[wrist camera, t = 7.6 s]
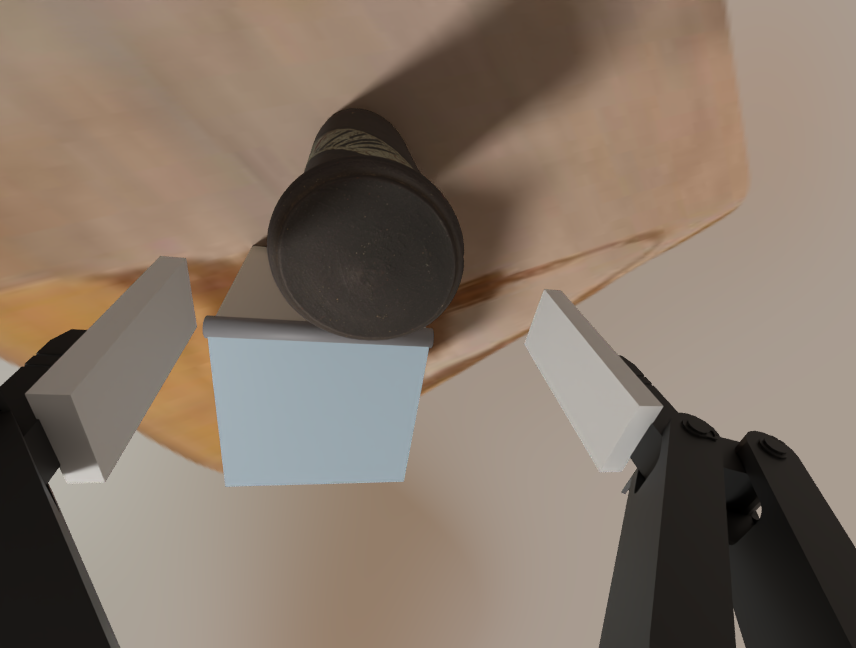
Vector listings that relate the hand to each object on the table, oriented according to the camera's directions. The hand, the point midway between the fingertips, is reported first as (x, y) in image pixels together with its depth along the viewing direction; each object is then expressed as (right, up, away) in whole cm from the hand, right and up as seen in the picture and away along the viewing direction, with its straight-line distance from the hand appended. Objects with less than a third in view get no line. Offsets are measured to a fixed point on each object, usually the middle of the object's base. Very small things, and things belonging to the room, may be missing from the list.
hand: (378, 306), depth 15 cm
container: (-4, +13, +18) cm, 23 cm away
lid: (-6, -7, +15) cm, 18 cm away
